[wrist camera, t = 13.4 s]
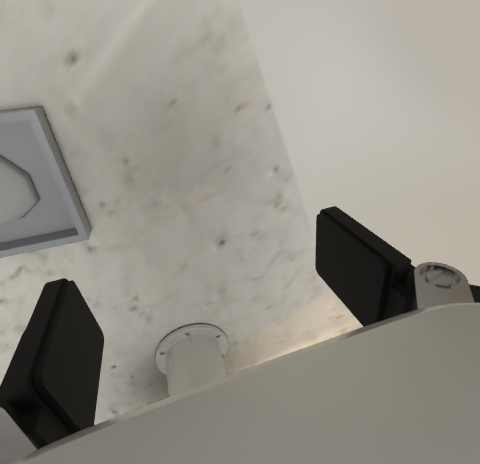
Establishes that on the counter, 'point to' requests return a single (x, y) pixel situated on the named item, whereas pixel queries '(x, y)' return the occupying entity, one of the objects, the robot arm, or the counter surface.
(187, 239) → the counter surface
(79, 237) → the tray
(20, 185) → the flask
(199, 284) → the counter surface
